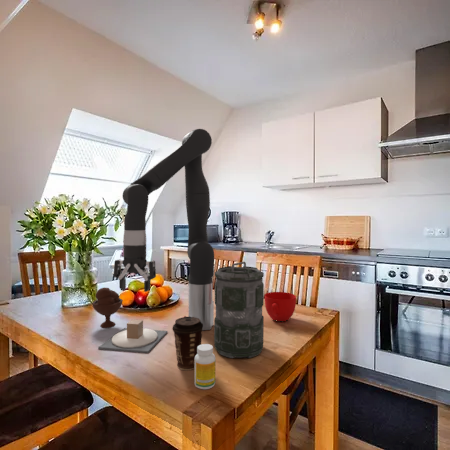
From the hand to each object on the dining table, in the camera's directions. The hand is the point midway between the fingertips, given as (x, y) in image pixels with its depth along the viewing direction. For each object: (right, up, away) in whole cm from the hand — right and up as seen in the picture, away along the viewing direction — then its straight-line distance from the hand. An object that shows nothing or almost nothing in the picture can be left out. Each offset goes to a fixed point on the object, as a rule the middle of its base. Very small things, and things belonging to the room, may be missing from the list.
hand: (134, 290), depth 104 cm
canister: (+35, -18, -6) cm, 40 cm away
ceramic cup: (+53, -17, +20) cm, 59 cm away
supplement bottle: (+26, -18, -27) cm, 41 cm away
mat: (0, -17, 0) cm, 17 cm away
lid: (0, -17, 0) cm, 17 cm away
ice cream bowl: (-15, -17, +15) cm, 27 cm away
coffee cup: (+20, -18, -17) cm, 32 cm away
